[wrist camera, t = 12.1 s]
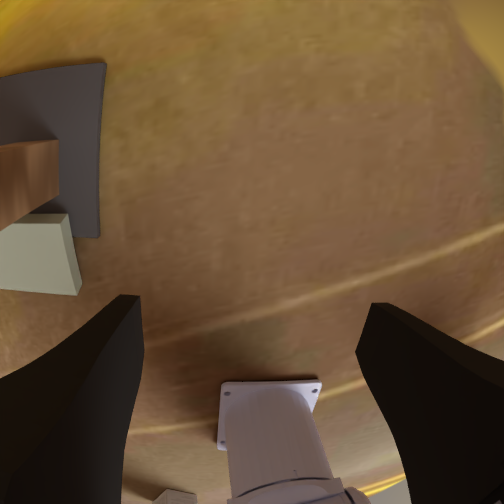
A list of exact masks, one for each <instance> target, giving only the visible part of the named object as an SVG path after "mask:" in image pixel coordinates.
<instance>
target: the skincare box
mask: <svg viewBox="0 0 504 504" xmlns="http://www.w3.org/2000/svg"><path fill="white" fill-rule="evenodd" d="M152 504H198V503H197V495H195V494H190V493H185V492H180V491H175V490H171V489H166V490H165V491H164V492H163V493H162V494H161V495H160V496H159V497H158V498H157V499H155V500H154V501H153V502H152Z"/></svg>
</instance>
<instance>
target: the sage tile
mask: <svg viewBox="0 0 504 504" xmlns="http://www.w3.org/2000/svg"><path fill="white" fill-rule="evenodd" d="M81 286H82V280H81V275H80V271H79V267H78V263H77V258H76V253H75V249H74V244H73V239H72V234H71V228H70V223H69V217H68V214H26V215H25V216H23V217H21V218H20V219H18V220H17V221H15V222H14V223H12V224H11V225H9V226H8V227H6V228H5V229H3V230H2V231H0V289H8V290H18V291H28V292H39V293H50V294H62V295H75V296H77V295H78V292H79V290H80V288H81Z"/></svg>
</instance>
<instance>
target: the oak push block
mask: <svg viewBox="0 0 504 504" xmlns="http://www.w3.org/2000/svg"><path fill="white" fill-rule="evenodd" d="M58 195H59V140H42V141H29V142H18V143H12V144H7V145H2V146H0V231H2V230H3V229H5V228H6V227H8V226H9V225H11V224H12V223H14V222H15V221H17V220H18V219H20V218H21V217H23V216H25V215H26V214H28V213H29V212H31V211H33V210H34V209H36V208H38V207H39V206H41V205H42V204H44V203H46V202H48V201H49V200H51V199H53V198H54V197H56V196H58Z"/></svg>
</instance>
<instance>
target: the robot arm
mask: <svg viewBox="0 0 504 504" xmlns="http://www.w3.org/2000/svg"><path fill="white" fill-rule="evenodd" d="M355 353H356V356H357V359H358V362H359V365H360V368H361V371H362V374H363V376H364V378H365V381H366V383H367V385H368V386H369V388H370V390H371V392H372V394H373V396H374V398H375V400H376V402H377V404H378V406H379V408H380V410H381V412H382V414H383V416H384V418H385V420H386V422H387V424H388V426H389V428H390V430H391V432H392V435H393V437H394V440H395V443H396V446H397V448H398V451H399V454H400V457H401V461H402V464H403V468H404V472H405V475H406V479H407V483H408V488H409V493H410V498H411V503H412V504H504V361H503V360H500V359H497V358H495V357H492V356H490V355H487V354H485V353H483V352H480V351H478V350H476V349H474V348H471V347H469V346H467V345H465V344H463V343H461V342H460V341H458V340H456V339H454V338H452V337H450V336H448V335H446V334H445V333H443V332H441V331H439V330H438V329H436V328H434V327H432V326H431V325H429V324H427V323H425V322H424V321H422V320H420V319H418V318H417V317H415V316H413V315H411V314H410V313H408V312H406V311H404V310H402V309H400V308H398V307H396V306H394V305H392V304H389V303H371V307H370V310H369V313H368V316H367V319H366V322H365V325H364V328H363V331H362V334H361V337H360V340H359V343H358V345H357V348H356V351H355ZM143 358H144V341H143V330H142V317H141V303H140V296H135V295H122V294H120V295H119V296H117V297H116V298H115V299H114V300H112V301H111V302H110V303H109V304H108V305H107V306H106V307H104V308H103V309H102V310H101V311H100V312H99V313H97V314H96V315H95V316H94V317H93V318H91V319H90V320H89V321H88V322H87V323H86V324H84V325H83V326H82V327H81V328H79V329H78V330H77V331H75V332H74V333H73V334H72V335H70V336H69V337H68V338H66V339H65V340H64V341H62V342H61V343H60V344H58V345H57V346H56V347H54V348H53V349H51V350H50V351H48V352H47V353H45V354H44V355H42V356H41V357H39V358H37V359H36V360H34V361H32V362H31V363H29V364H27V365H26V366H24V367H22V368H20V369H18V370H16V371H14V372H12V373H10V374H8V375H6V376H4V377H2V378H0V504H121V488H122V471H123V459H124V449H125V443H126V438H127V433H128V429H129V425H130V421H131V416H132V412H133V408H134V404H135V400H136V396H137V392H138V388H139V384H140V380H141V374H142V366H143ZM321 387H322V383H321V381H320V380H317V379H315V380H298V381H273V382H225V383H223V384H222V385H221V393H220V407H219V421H218V435H217V449H219V450H227V456H228V466H229V475H230V484H231V493H232V499H228V500H227V504H371V503H370V501H369V499H368V498H367V496H366V495H365V494H364V493H363V492H361V491H359V490H357V489H356V488H354V487H348V488H345V489H344V487H343V485H342V482H341V479H340V478H335V479H334V477H333V474H332V471H331V468H330V465H329V462H328V460H327V457H326V454H325V451H324V448H323V445H322V442H321V439H320V436H319V433H318V430H317V427H316V424H315V422H314V419H313V416H312V412H313V409H314V406H315V404H316V401H317V398H318V395H319V393H320V390H321ZM313 389H314V390H313Z"/></svg>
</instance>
